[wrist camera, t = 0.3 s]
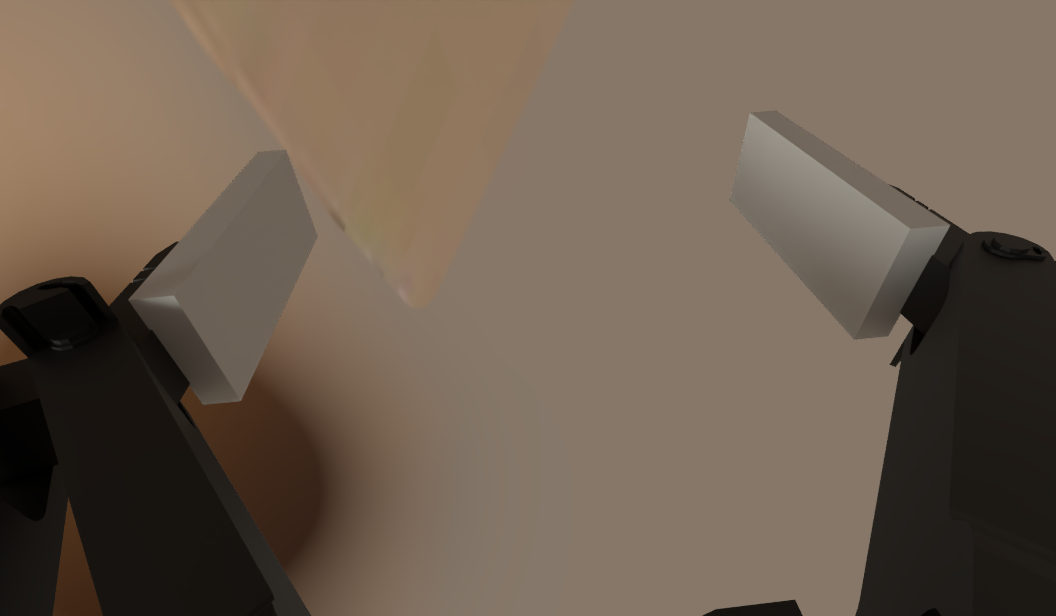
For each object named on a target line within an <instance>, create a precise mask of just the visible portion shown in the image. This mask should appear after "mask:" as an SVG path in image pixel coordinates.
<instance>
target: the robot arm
mask: <svg viewBox="0 0 1056 616" xmlns="http://www.w3.org/2000/svg"><path fill="white" fill-rule="evenodd" d="M730 201H731V202H732V204H733V205H734V206H735V207H736V208H737V209H738V210H739V211H740V212H741V213H742V214H743V216H744V217H745V218H746V219H747V220H748V221H749V223H751V225H752V226H753V227H754V228H755V229H756V230H757V231H758V233H759V234H760V235H761V236H762V237H763V238H764V239H765V240H766V242H767V243H768V244H769V245H770V246H771V247H772V248H773V249H774V250H775V252H776V253H777V254H778V255H779V256H780V257H781V258H782V259H783V260H784V262H785V263H786V264H787V265H788V266H789V267H790V268H791V269H792V270H793V272H794V273H795V274H796V275H797V276H798V277H799V278H800V280H801V281H802V282H803V283H804V284H805V285H806V286H807V287H808V288H809V290H810V291H811V292H812V293H813V294H814V295H815V296H816V297H817V299H818V300H819V301H820V302H821V303H822V304H823V305H824V306H825V307H826V309H827V310H828V311H829V312H830V313H831V314H832V315H833V316H834V317H835V319H836V320H837V321H838V322H839V323H840V324H841V325H842V326H843V327H844V329H845V330H846V331H847V332H848V333H849V334H850V335H851V336H852V338H853V339H864V338H874V337H884V336H888V335H889V333H890V332H891V330H892V328H893V326H894V325H895V323H896V321H897V319H898V318H899V316H900V314H902V315H903V316H904V317H905V318H906V319H907V320H908V321H910V322H911V323H912V324H913V327H912V328H911V330H910V332H909V333H908V335H907V337H906V339H905V340H904V342H903V343H902V345H901V347H900V348H899V350H898V352H897V353H896V355H895V357H894V358H893V360H892V362H891V363H890V365H892V366H895V367H896V366H897V364H898V363H899V362H900V361H901V365H900V370H899V376H898V382H897V388H896V393H895V400H894V405H893V411H892V417H891V422H890V428H889V434H888V440H887V445H886V451H885V457H884V464H883V469H882V474H881V480H880V486H879V492H878V497H877V504H876V509H875V515H874V520H873V526H872V532H871V538H870V544H869V549H868V555H867V561H866V567H865V573H864V579H863V584H862V590H861V596H860V601H859V605H858V609H857V612H856V615H855V616H1056V261H1054V259H1053V258H1052V256H1051V255H1050V253H1049V252H1048V251H1047V250H1045V249H1044V248H1043V247H1041V246H1039V245H1037V244H1035V243H1033V242H1031V241H1028V240H1026V239H1024V238H1020V237H1017V236H1013V235H1009V234H1005V233H998V232H975V233H972V234H969V233H967V232H966V231H964V230H962V229H961V228H959V227H958V226H956V225H955V224H953V223H952V222H950V221H948V220H947V219H945V218H944V217H942V216H941V215H939V214H938V213H936V212H935V211H933V210H928V207H927V206H925V205H924V204H922V203H921V202H919V201H915V198H913V197H912V196H910V195H908V194H907V193H905V192H904V191H902V190H901V189H899V188H897V187H894V186H892V185H889V184H887V183H886V182H884V181H882V180H881V179H879V178H878V177H876V176H875V175H873V174H872V173H870V172H869V171H867V170H866V169H864V168H863V167H861V166H860V165H858V164H856V163H855V162H853V161H852V160H850V159H849V158H847V157H846V156H844V155H843V154H841V153H840V152H838V151H837V150H835V149H834V148H832V147H830V146H829V145H828V144H826V143H824V142H823V141H821V140H820V139H818V138H817V137H815V136H814V135H812V134H811V133H809V132H808V131H806V130H804V129H803V128H802V127H800V126H798V125H797V124H795V123H794V122H792V121H791V120H789V119H788V118H786V117H785V116H783V115H782V114H780V113H779V112H777V111H767V112H754V113H750V115H749V120H748V124H747V129H746V133H745V137H744V141H743V145H742V150H741V154H740V158H739V162H738V167H737V171H736V176H735V180H734V184H733V188H732V193H731V197H730ZM317 237H318V236H317V233H316V230H315V227H314V225H313V222H312V219H311V217H310V214H309V211H308V209H307V206H306V203H305V200H304V197H303V195H302V192H301V189H300V187H299V184H298V181H297V178H296V176H295V173H294V170H293V168H292V165H291V162H290V159H289V157H288V154H287V151H286V150H278V151H264V152H257V154H256V155H255V156H254V157H253V158H252V159H251V160H250V162H249V163H248V164H247V165H246V166H245V167H244V169H242V171H241V172H240V173H239V174H238V175H237V176H236V177H235V179H234V180H233V181H232V182H231V183H230V184H229V185H228V187H227V188H226V189H225V190H224V191H223V192H222V193H221V195H220V196H219V197H218V198H217V199H216V201H214V203H213V204H212V205H211V206H210V207H209V208H208V209H207V211H206V212H205V213H204V214H203V215H202V216H201V217H200V219H199V220H198V221H197V222H196V223H195V224H194V226H193V227H192V228H191V229H190V230H189V231H188V232H187V234H186V235H185V236H184V237H183V238H182V239H181V240H180V241H179V242H175V243H173V244H172V245H170V246H169V247H167V248H166V249H164V250H163V251H161V252H159V253H158V254H156V255H155V256H154V257H153V258H152V259H151V261H150V262H149V263H148V264H147V265H146V266H145V267H144V268H143V269H144V271H141V272H140V273H139V274H138V275H137V276H136V277H135V278H134V279H133V283H130V284H129V285H128V286H127V287H126V288H125V289H124V290H123V291H122V293H120V295H119V296H118V297H117V298H116V299H115V300H114V301H113V302H112V303H111V304H110V306H108V305H107V303H106V302H105V301H104V300H103V298H102V297H101V296H100V294H99V293H98V292H97V290H96V289H95V288H94V286H93V285H92V284H91V282H90V281H88V280H87V279H85V278H84V277H72V276H71V277H64V278H57V279H52V280H49V281H46V282H42V283H39V284H36V285H34V286H31V287H29V288H27V289H25V290H22V291H20V292H18V293H16V294H15V295H13V296H12V297H10V298H8V299H7V300H5V301H4V302H3V303H2V304H0V329H1V330H2V331H3V332H4V333H5V334H6V335H7V336H8V338H9V339H11V341H12V342H13V343H14V344H15V345H16V346H17V347H18V348H19V349H20V350H21V351H22V352H23V353H24V354H25V355H26V356H27V357H28V358H27V359H24V360H20V361H17V362H13V363H10V364H6V365H2V366H0V616H52V614H53V607H54V599H55V592H56V584H57V577H58V570H59V562H60V555H61V547H62V540H63V532H64V525H65V517H66V510H67V503H68V497H69V501H70V504H71V507H72V511H73V514H74V518H75V521H76V525H77V528H78V532H79V535H80V538H81V542H82V545H83V548H84V552H85V556H86V559H87V562H88V566H89V569H90V572H91V576H92V579H93V583H94V586H95V590H96V593H97V597H98V600H99V603H100V607H101V610H102V614H103V616H311V615H310V613H309V611H308V610H307V608H306V606H305V605H304V603H303V601H302V600H301V598H300V597H299V595H298V593H297V591H296V590H295V588H294V586H293V585H292V583H291V582H290V580H289V578H288V577H287V575H286V573H285V572H284V570H283V568H282V567H281V565H280V563H279V562H278V560H277V558H276V557H275V555H274V553H273V552H272V550H271V548H270V547H269V545H268V544H267V542H266V540H265V538H264V537H263V535H262V533H261V532H260V530H259V529H258V527H257V525H256V523H255V522H254V520H253V518H252V517H251V515H250V513H249V512H248V510H247V509H246V507H245V505H244V503H243V502H242V500H241V498H240V497H239V495H238V493H237V492H236V490H235V489H234V487H233V485H232V484H231V482H230V480H229V479H228V477H227V475H226V474H225V472H224V470H223V469H222V467H221V465H220V464H219V462H218V460H217V459H216V457H215V455H214V454H213V452H212V450H211V449H210V447H209V446H208V444H207V442H206V440H205V439H204V437H203V436H202V434H201V432H200V430H199V429H198V427H197V426H196V424H195V422H194V421H193V419H192V417H191V415H190V414H189V412H188V411H187V410H186V408H185V407H184V406H183V404H182V403H181V401H180V400H181V398H182V396H183V395H184V393H185V391H186V390H187V388H188V386H190V387H191V388H192V390H193V391H194V392H195V394H196V395H197V397H198V398H199V399H200V401H201V402H202V404H203V405H204V404H215V403H225V402H235V401H241V400H242V397H243V395H244V393H245V391H246V389H247V387H248V384H249V382H250V380H251V378H252V376H253V374H254V371H255V370H256V367H257V365H258V363H259V361H260V359H261V357H262V355H263V352H264V350H265V348H266V346H267V344H268V342H269V340H270V337H271V335H272V333H273V331H274V329H275V327H276V325H277V322H278V320H279V318H280V316H281V314H282V311H283V310H284V307H285V305H286V303H287V301H288V299H289V297H290V294H291V292H292V290H293V288H294V286H295V284H296V282H297V280H298V277H299V275H300V273H301V271H302V269H303V266H304V264H305V262H306V260H307V258H308V256H309V254H310V252H311V250H312V247H313V245H314V243H315V241H316V239H317ZM703 616H802V614H801V611H800V609H799V607H798V605H797V603H796V601H795V600H789V601H781V602H773V603H764V604H757V605H748V606H740V607H731V608H723V609H716V610H714V611H712V612H709V613H707V614H705V615H703Z"/></svg>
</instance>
